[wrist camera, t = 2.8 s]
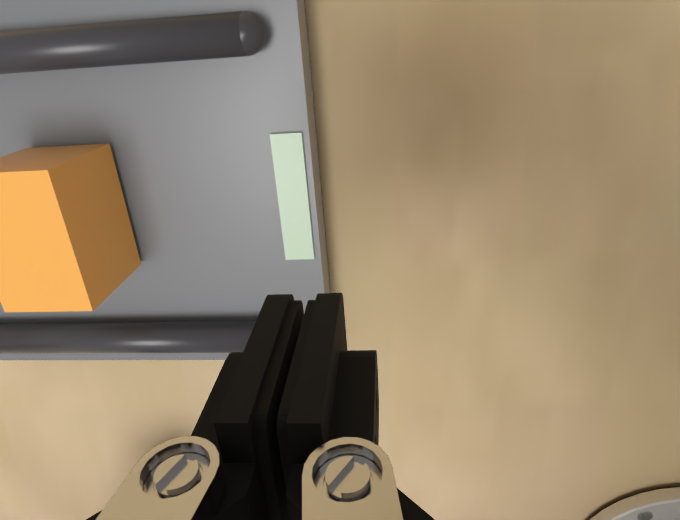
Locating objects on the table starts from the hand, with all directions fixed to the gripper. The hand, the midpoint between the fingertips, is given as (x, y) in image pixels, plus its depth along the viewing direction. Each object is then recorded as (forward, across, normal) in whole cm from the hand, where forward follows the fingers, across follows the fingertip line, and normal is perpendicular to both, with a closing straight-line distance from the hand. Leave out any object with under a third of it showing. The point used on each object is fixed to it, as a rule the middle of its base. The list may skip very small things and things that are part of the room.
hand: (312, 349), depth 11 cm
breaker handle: (+12, +13, +1) cm, 18 cm away
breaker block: (+15, +12, +1) cm, 19 cm away
